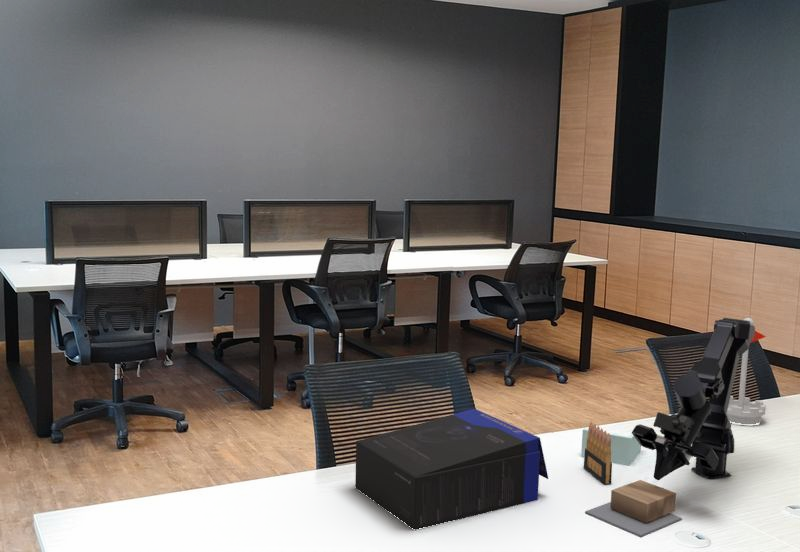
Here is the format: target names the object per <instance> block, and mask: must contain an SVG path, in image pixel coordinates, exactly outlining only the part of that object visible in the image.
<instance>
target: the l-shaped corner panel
mask: <svg viewBox="0 0 800 552" xmlns="http://www.w3.org/2000/svg"><path fill="white" fill-rule="evenodd" d="M588 429H589V428H583V429H582V435H581V436H582V437H581V438H582V439H581V453H580V454H581V455H580V457H581V458H584V456H585V448H586V445H587V436H588ZM603 433H604V431H603ZM606 433H607V435H608V433H609V434H610V437H611V463H612V464H617V465H622V466H627V467H628V466H629V467H630V466H631V465H632V464H633V462H634V461H635V459H637V457H638V456H639V454H640V453H641V452H642V446H641V445H640V444H639V442H638V441H637V440H636V438H635V437H634V435H633V434H632V432H631V433H630V434H629V435H628V436H627V435H622V434H616V433H610V432H606ZM637 455H638V456H637Z"/></svg>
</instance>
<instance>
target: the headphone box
mask: <svg viewBox="0 0 800 552" xmlns="http://www.w3.org/2000/svg"><path fill="white" fill-rule="evenodd" d="M540 477H543V478H544V479H547V480H549V474H548V469H547V464H546V461H545V456H544V452H543V446H542V442H541V437H539V436H538V435H534V434H532V433H530V432H528V431H525V430H523V429H522V428H520V427H516V426H514V425H512V424H510V423H508V422H506V421H503V420H501V419H498V418H497V417H495V416H492V415H490V414H488V413H486V412H483V411H481V410H479V409H476V408H471V409H468V410H464V411H461V412H458V413H453V414H450V415H446V416H444V417H443V416H442V417H439V418H438V417H437V418H435V419H431V420H429V421H425V422H420V423H417V424H413V425H411V426H410V425H409V426H406V427H402V428H400V429H396V430H393V431H392V430H391V431H389V432H385V433H382V434H379V435H375V436H370V437H368V438H364V439H359V440H356V441H355V486H354V487H356V488H357V489H358V490H360V491H361V492H362V493H364V494H365V495H367V496H368V497H369V498H371V499H372V500H374V501H375V502H376V503H377V505H378V504H379V505H380V506H382V507H383V508H384V509H383V508H382V507H381V508H382V509H383V510H385V509H386V510H387V511H389V512H391V513H392V514H393V515H395V516H396V517H398V518H399V519H400V520H402V521H403V522H405V523H406V524H407V525H408V526H410V527H411V528H413V529H419V528H423V527H427V528H429V527H428V526H431V527H433V526H432V525H435V526H437V525H436V524H439V525H441V524H440V523H443V524H445V523H444V522H447V523H449V522H448V521H451V522H454V521H453V520H455V521H458V519H459V520H463V519H467V518H470V517H475V516H478V514H480V515H483V513H484V514H487V512H488V513H491V511H492V512H495V511H500V510H503V509H507V508H512V507H515V506H519V505H520V506H521V505H524V504H527V503H531V502H532V503H533V502H536V501H538V499H539V485H540V484H539V483H540V482H539V481H540ZM357 489H356V490H357ZM358 490H357V491H358ZM360 491H359V492H360ZM361 492H360V493H361ZM362 493H361V494H362ZM364 494H363V495H364ZM365 495H364V496H365ZM368 497H367V498H368ZM369 498H368V499H369ZM371 499H370V500H371ZM372 500H371V501H372ZM375 502H374V503H375ZM376 503H375V504H376ZM379 505H378V506H379ZM380 506H379V507H380ZM386 510H385V511H386ZM387 511H386V512H387ZM389 512H388V513H389ZM392 514H391V515H392ZM393 515H392V516H393ZM474 515H475V516H474ZM396 517H395V518H396ZM466 517H467V518H466ZM462 518H463V519H462ZM400 520H399V521H400ZM403 522H402V523H403ZM407 525H406V526H407ZM408 526H407V527H408ZM410 527H409V528H410ZM411 528H410V529H411ZM423 529H424V528H423ZM419 530H420V529H419Z"/></svg>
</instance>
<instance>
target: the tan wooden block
mask: <svg viewBox="0 0 800 552" xmlns="http://www.w3.org/2000/svg"><path fill="white" fill-rule="evenodd" d="M610 493H611V494H610V502H611V506H610V508H611V509H614V510H616V511H618V512H620V513H623V514H625V515H628V516H630V517H633V518H635V519H637V520H640V521H642V522H645V523H647V522H650V521H652V520H655V519H657V518H659V517H662V516H664V515H667V514H669V513H671V514H672V513H674V512H675V511H676V501H677V500H676V499H677V492H674V491H672V490H669V489H666V488H664V487H661V486H658V485H655V484H653V483H650V482H647V481H645V480H641V479H639V480H636V481H634V482H630V483H628V484H624V485H622V486H619V487H617V488H614V489H611V492H610Z"/></svg>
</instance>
